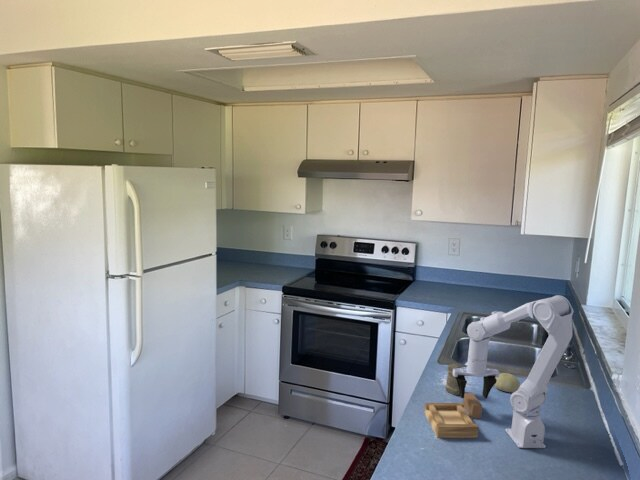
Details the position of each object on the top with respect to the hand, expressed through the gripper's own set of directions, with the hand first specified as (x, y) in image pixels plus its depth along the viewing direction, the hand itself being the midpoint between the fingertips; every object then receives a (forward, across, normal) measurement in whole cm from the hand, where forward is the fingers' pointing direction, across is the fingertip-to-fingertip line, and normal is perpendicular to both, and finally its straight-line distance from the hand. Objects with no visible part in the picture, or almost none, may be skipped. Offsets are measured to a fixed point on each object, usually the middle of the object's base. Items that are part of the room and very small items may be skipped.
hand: (473, 397), depth 160 cm
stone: (+5, +2, -13) cm, 14 cm away
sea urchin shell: (+6, -19, -17) cm, 26 cm away
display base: (+5, +10, +8) cm, 14 cm away
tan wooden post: (+5, 0, 0) cm, 5 cm away
